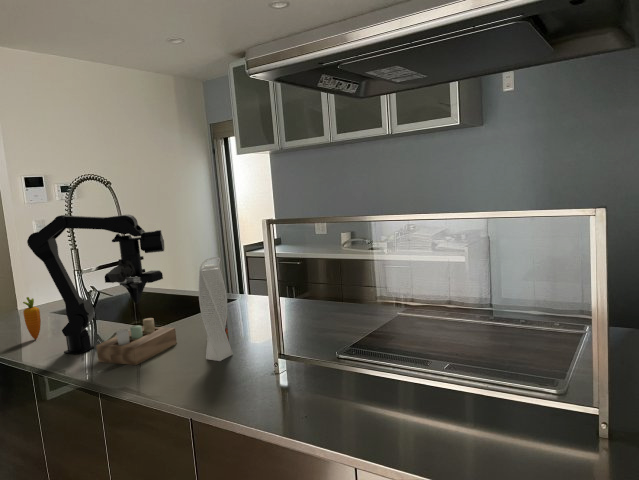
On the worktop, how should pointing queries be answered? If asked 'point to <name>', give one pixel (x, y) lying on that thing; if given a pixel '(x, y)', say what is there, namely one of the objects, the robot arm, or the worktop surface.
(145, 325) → the plug beech
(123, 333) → the plug grey
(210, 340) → the skyscraper
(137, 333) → the plug green
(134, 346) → the wooden plug holder
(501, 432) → the worktop surface
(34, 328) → the carrot
